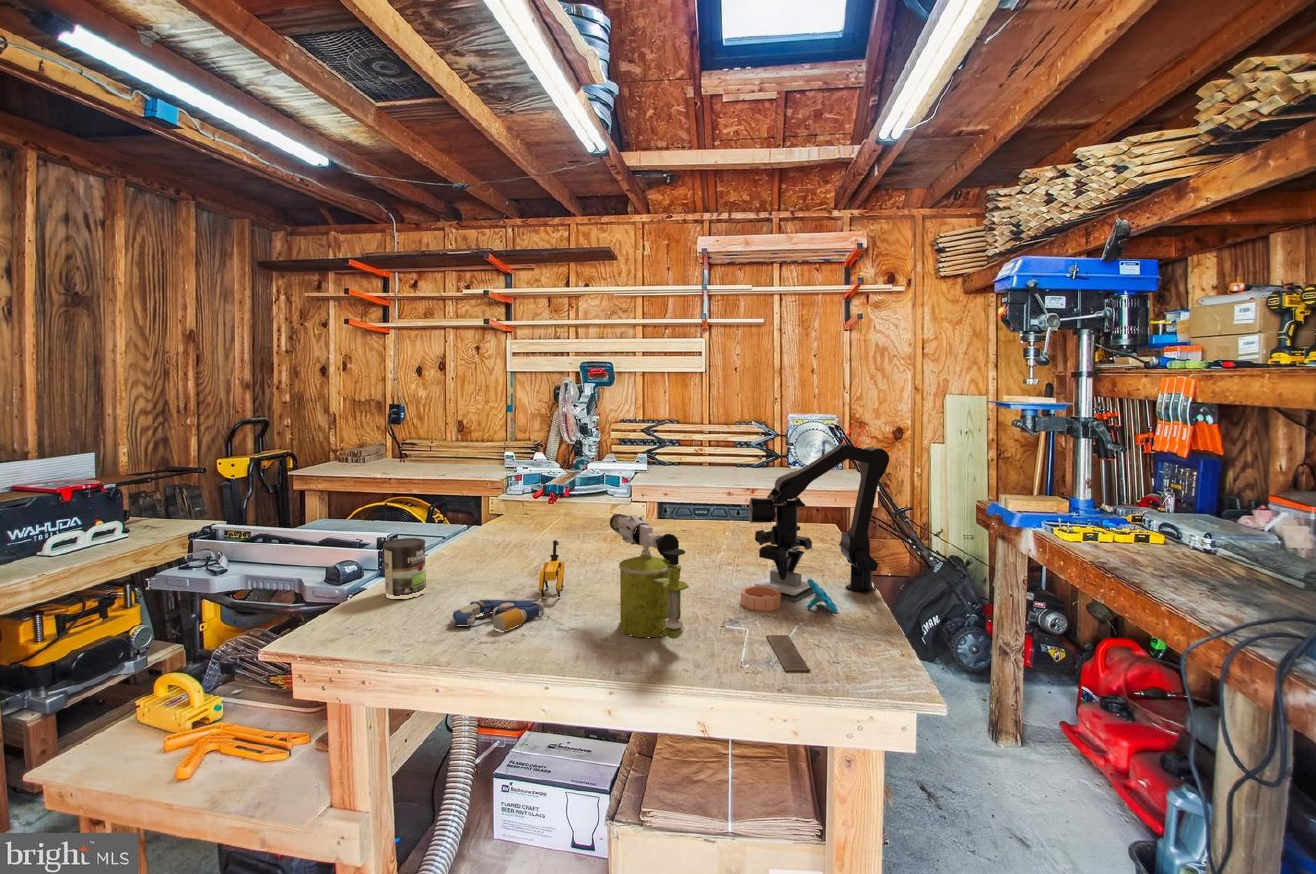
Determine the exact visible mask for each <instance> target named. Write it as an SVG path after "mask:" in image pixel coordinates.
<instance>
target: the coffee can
mask: <svg viewBox="0 0 1316 874" xmlns="http://www.w3.org/2000/svg"><path fill="white" fill-rule="evenodd" d="M383 550H384V551H383V555H384V556H383V557H384V583H385V584H384V586H385V590H384V591H386V593H387V594H389V595H394V596H400V595H409V594H412V593H416V592H419V591H421V590H423V589H424V588H426V589H427V580H426V579H427V576H426V573H427V572H426V540H425V539H423V538H418V537H417V538H416V537H407V538H404V537H403V538H399V539H393V540H392V539H391V540H387V542H385V543H383Z"/></svg>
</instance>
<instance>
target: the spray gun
mask: <svg viewBox="0 0 1316 874" xmlns="http://www.w3.org/2000/svg"><path fill="white" fill-rule="evenodd" d="M539 611H540V613H541V614H540V613H539ZM483 612H484V613H485V614H484V615H483V616H479V617H476V615H479V614H480V613H483ZM490 612H492V613H490ZM452 613H453V614H452V618H451V619H450V621H449V623H450V624H449V625H455V626H456V625H468V624H470V625H471V624H472V625H473V624H474V625H475V622H476V621H482V620H485V619H487V618H490V617H492V625H493V628H496V629H499V630H501V631H505V630H508V629H510V628H513V627H515V626H517V625H520V624H522V623H523V624H524V622H525V621H526V620H530V619H532V618H536V617H539V616H540V615H542V616H541V617H544V616H545V604H544V603H543V598H539V599H538V600H536V599H479V600H474V601H473V600H472V601H471V602H470V603H469V604H468V605H466V606H464V607H461V608H459V609H457V610H454V611H453V612H452ZM539 614H540V615H539ZM543 615H544V616H543ZM523 624H522V625H523Z"/></svg>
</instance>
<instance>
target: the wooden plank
mask: <svg viewBox="0 0 1316 874" xmlns="http://www.w3.org/2000/svg"><path fill="white" fill-rule="evenodd" d="M766 639H767V641H768V643H769V645H770V646H771V648H772V651H773V653H774V654H775V656H776V657H777V659H778V661H779V663H780V664H781V667H782V668H783V670H784V672H785V673H810V672H811V669H810V668H809V666H808V664H807V663H806V661H805V660H804V658H803V657H802V655H801V654H800V652H799V651H798V649H797V646H796V645H795V643H794V642H793V640H792V639H791V637H790V635H788V634H781V635H780V634H779V635H777V634H774V635H773V634H768V635H767V634H766Z"/></svg>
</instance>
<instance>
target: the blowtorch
mask: <svg viewBox="0 0 1316 874" xmlns="http://www.w3.org/2000/svg"><path fill="white" fill-rule="evenodd" d="M609 526H610V528H611V529H612V530H613V531H614V532H616V533H617V534H618V535H620V537H622V541H623V542H625V543H626V544H630V545H633V546H634V545H638V546H642V547H643V549H641V554H639V555H640V556H634V557H628V558H627V559H624V560H622V561H620V562H619V564H618V567H619V569H620V575H619V576H620V578H619V579H620V582H619V583H620V585H619V586H620V590H619V591H620V592H619V593H620V595H619V597H620V604H619V605H620V609H619V610H620V621H619V622H618V630H619V629H620V630H621V631H622V632H623V633H624V634H623V633H622V632H621V633H622V634H623V635H625V634H627V635H626V636H628V635H632V636H636V637H647V638H646V639H649V638H648V637H656V638H659V637H658V636H660V637H662V636H661V635H665V636H667V637H668V638H669V639H673V640H675V639H678V638H679V637H681V636H682V634H683V633H684V632H683V631H684V630H685V627H684V626H683V618H681V616H682V615H681V609H682V608H681V603H682V602H681V597H682V596H681V592H682V591H684V590H686V589H688V588H689V587H690V586H689V584H688V583H686V582H684V581H682V580H680V579H681V569H683V567H682V566H681V565H679V560H680V559H679V556H682V555H684V554H686V551H685V550H684V549H682V548H679V546H680V545H679V544H680V543H679V540H678V537H677V536H675V535H674V534H671V533H665V534H663V535H661V534H659V533H654V530H653V527H652V526H651V525H650V524H648V523H647V521H646V520H645V519H644V518H643V517H642V516H638V515H637V514H634V515H633V514H631V515H625V514H621V513H616V514H613V515H612V516H611V518H610V519H609ZM651 547H652V548H654V549H656V550H657V551H658V553H659V554H660V555H661V556H662V557H659V556H654V555H652V554H651V549H649V548H651ZM620 630H619V631H620ZM636 637H635V638H636Z"/></svg>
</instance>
